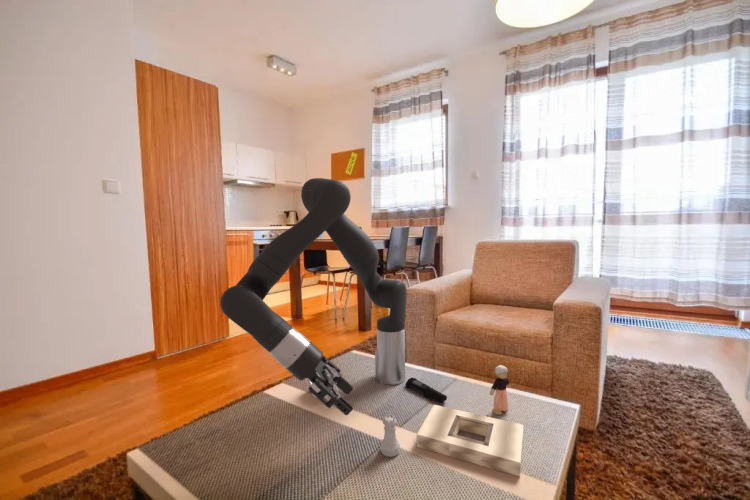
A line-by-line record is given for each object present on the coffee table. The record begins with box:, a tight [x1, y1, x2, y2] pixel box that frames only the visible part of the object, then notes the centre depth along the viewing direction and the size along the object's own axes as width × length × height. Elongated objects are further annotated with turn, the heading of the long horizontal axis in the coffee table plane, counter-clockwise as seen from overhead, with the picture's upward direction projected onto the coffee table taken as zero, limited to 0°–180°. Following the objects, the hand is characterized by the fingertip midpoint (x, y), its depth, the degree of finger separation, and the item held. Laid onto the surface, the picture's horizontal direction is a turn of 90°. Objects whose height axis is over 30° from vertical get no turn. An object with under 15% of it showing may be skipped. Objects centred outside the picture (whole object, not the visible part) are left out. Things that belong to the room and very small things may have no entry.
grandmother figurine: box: [489, 364, 512, 416], centre depth 92 cm, size 8×4×13 cm, turn 131°
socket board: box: [416, 404, 524, 477], centre depth 79 cm, size 22×14×3 cm, turn 64°
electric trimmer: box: [405, 377, 448, 404], centre depth 102 cm, size 4×16×3 cm, turn 36°
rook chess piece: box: [380, 414, 401, 458], centre depth 76 cm, size 4×4×8 cm
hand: (350, 400), depth 75 cm, fingers open, 8 cm apart
